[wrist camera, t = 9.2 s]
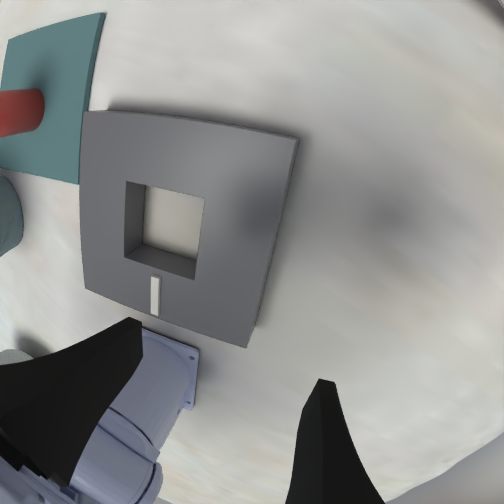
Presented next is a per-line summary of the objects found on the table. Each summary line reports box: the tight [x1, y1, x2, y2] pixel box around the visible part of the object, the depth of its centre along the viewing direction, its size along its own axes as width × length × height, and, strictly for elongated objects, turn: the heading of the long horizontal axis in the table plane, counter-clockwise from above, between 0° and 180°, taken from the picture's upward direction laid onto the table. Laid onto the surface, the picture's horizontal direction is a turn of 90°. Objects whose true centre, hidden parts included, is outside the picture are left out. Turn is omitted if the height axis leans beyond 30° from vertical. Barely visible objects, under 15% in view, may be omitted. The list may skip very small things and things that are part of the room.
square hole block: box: [79, 110, 299, 348], centre depth 20 cm, size 14×14×3 cm
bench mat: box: [0, 13, 105, 185], centre depth 19 cm, size 14×14×1 cm
